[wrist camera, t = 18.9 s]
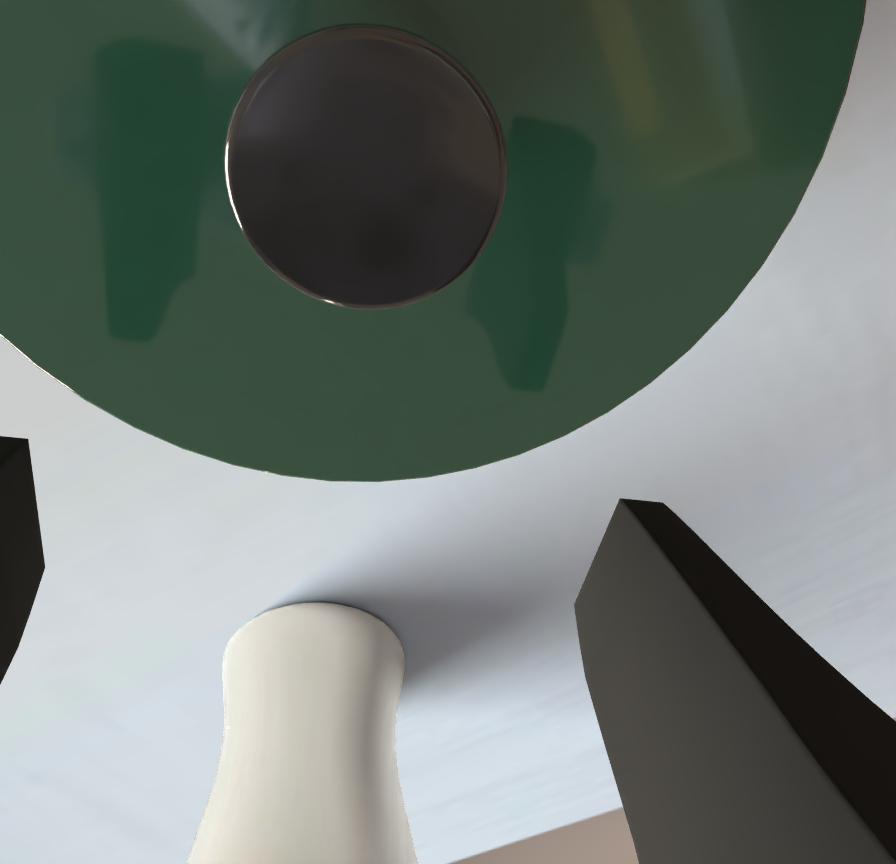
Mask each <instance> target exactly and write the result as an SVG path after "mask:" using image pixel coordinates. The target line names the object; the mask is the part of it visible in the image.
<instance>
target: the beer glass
mask: <svg viewBox="0 0 896 864" xmlns="http://www.w3.org/2000/svg"><path fill="white" fill-rule="evenodd" d="M403 674H404V652H403V649H402V646H401V643H400V641H399V639H398V638H397V636H396V635H395V633H394V632H393V631H392V630H391V629H390V628H389V627H388V626H387V625H386V624H385V623H383V622H382V621H381V620H379V619H377V618H376V617H374V616H372V615H370V614H368V613H366V612H364V611H361V610H359V609H356V608H353V607H349V606H345V605H340V604H334V603H324V602H307V603H297V604H291V605H286V606H282V607H278V608H275V609H272V610H269V611H267V612H264V613H262V614H260V615H258V616H256V617H254V618H253V619H251V620H249V621H248V622H247V623H245V624H244V625H243V626H242V627H240V628H239V629H238V630H237V631H236V632H235V634H234V635H233V636H232V638H231V639H230V641H229V643H228V644H227V647H226V649H225V652H224V655H223V663H222V680H223V697H224V733H223V741H222V749H221V754H220V759H219V763H218V767H217V772H216V776H215V780H214V783H213V786H212V789H211V792H210V795H209V798H208V801H207V805H206V808H205V811H204V814H203V817H202V819H201V822H200V825H199V828H198V831H197V833H196V836H195V839H194V842H193V845H192V847H191V850H190V853H189V856H188V858H187V861H186V864H418V861H417V856H416V852H415V848H414V844H413V839H412V835H411V831H410V827H409V822H408V818H407V814H406V809H405V804H404V799H403V795H402V790H401V785H400V780H399V774H398V765H397V756H396V718H397V710H398V703H399V697H400V692H401V686H402V680H403Z"/></svg>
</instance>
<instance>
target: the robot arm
mask: <svg viewBox="0 0 896 864" xmlns="http://www.w3.org/2000/svg"><path fill="white" fill-rule="evenodd" d="M44 569H45V563H44V555H43V548H42V540H41V533H40V525H39V518H38V510H37V503H36V495H35V487H34V480H33V472H32V465H31V457H30V450H29V442H28V439H23V438H13V437H4V436H0V684H1V682H2V680H3V678H4V676H5V674H6V672H7V669H8V667H9V665H10V663H11V661H12V659H13V657H14V655H15V653H16V650H17V648H18V646H19V643H20V641H21V638H22V635H23V632H24V629H25V626H26V623H27V621H28V618H29V615H30V612H31V609H32V606H33V603H34V600H35V597H36V594H37V591H38V588H39V584H40V581H41V578H42V575H43V572H44ZM574 607H575V614H576V621H577V628H578V636H579V643H580V649H581V654H582V660H583V666H584V672H585V677H586V681H587V684H588V688H589V692H590V695H591V699H592V702H593V706H594V709H595V713H596V716H597V720H598V723H599V726H600V730H601V733H602V737H603V740H604V744H605V747H606V750H607V754H608V757H609V760H610V764H611V767H612V770H613V774H614V777H615V781H616V784H617V787H618V791H619V794H620V797H621V801H622V804H623V807H624V811H625V814H626V818H627V821H628V824H629V827H630V831H631V834H632V838H633V841H634V844H635V849H636V853H637V857H638V861H639V864H896V721H895V720H893V719H892V718H891V717H890V716H889V715H887V714H886V713H885V712H884V711H883V710H882V709H880V708H879V707H878V706H877V705H876V704H874V703H873V702H872V701H871V700H870V699H869V698H867V697H866V696H865V695H864V694H863V693H862V692H861V691H860V690H858V689H857V688H856V687H855V686H854V685H853V684H852V683H851V682H849V681H848V680H847V679H846V678H845V677H844V676H843V675H842V674H840V673H839V672H838V671H837V670H836V669H835V668H834V667H833V666H832V665H830V664H829V663H828V662H827V661H826V660H825V659H824V658H823V657H821V656H820V655H819V654H818V653H817V652H816V651H815V650H814V649H813V648H812V647H811V646H810V645H809V644H808V643H806V642H805V641H804V640H803V639H802V638H801V637H800V636H799V635H798V634H797V633H796V632H795V631H794V630H793V629H792V628H791V627H790V626H789V625H787V624H786V623H785V622H784V621H783V620H782V619H781V618H780V617H779V616H778V615H777V614H776V613H775V612H774V611H773V610H772V609H771V608H770V607H769V606H768V605H767V604H766V603H765V602H764V601H763V600H762V599H761V598H760V597H759V596H758V595H757V594H756V593H755V592H754V591H753V590H752V589H751V588H750V587H749V586H748V585H747V584H746V583H745V582H744V581H743V580H742V579H741V578H740V577H739V576H738V575H737V574H736V573H735V572H734V571H733V570H732V569H731V568H730V567H729V566H728V565H727V564H726V563H725V562H724V561H723V560H722V559H721V558H720V557H719V556H718V555H717V554H716V553H715V552H714V551H713V550H712V549H711V548H710V547H709V546H708V545H707V544H706V543H705V542H704V541H703V540H702V539H701V538H700V537H699V536H698V535H697V534H696V533H695V532H694V531H693V530H692V529H691V528H690V527H689V526H688V525H687V524H686V523H685V522H683V521H682V520H681V519H680V518H679V517H678V516H677V515H676V514H675V513H674V512H673V511H672V510H671V509H669V508H668V507H667V506H666V505H665V504H664V503H661V502H651V501H641V500H631V499H621V498H620V499H619V502H618V504H617V506H616V509H615V511H614V513H613V516H612V518H611V520H610V523H609V525H608V527H607V530H606V532H605V534H604V537H603V539H602V541H601V544H600V546H599V548H598V551H597V553H596V555H595V558H594V560H593V562H592V565H591V567H590V569H589V572H588V574H587V576H586V579H585V581H584V583H583V585H582V588H581V590H580V592H579V595H578V597H577V599H576V602H575V604H574Z"/></svg>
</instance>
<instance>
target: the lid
mask: <svg viewBox="0 0 896 864" xmlns="http://www.w3.org/2000/svg"><path fill="white" fill-rule="evenodd" d="M865 6H866V0H0V336H2V337H3V338H4V339H5V340H6V341H7V342H9V343H10V344H11V345H12V346H13V347H14V348H16V349H17V350H18V351H19V352H20V353H21V354H23V355H24V356H25V357H26V358H27V359H28V360H30V361H31V362H32V363H33V364H34V365H35V366H37V367H38V368H40V369H41V370H42V371H44V372H45V373H47V374H48V375H50V376H51V377H53V378H54V379H55V380H57V381H58V382H60V383H61V384H63V385H64V386H65V387H67V388H68V389H70V390H71V391H73V392H74V393H75V394H77V395H78V396H80V397H81V398H83V399H84V400H86V401H87V402H89V403H91V404H93V405H95V406H96V407H98V408H100V409H102V410H104V411H105V412H107V413H109V414H111V415H112V416H114V417H116V418H118V419H120V420H121V421H123V422H125V423H127V424H129V425H130V426H132V427H134V428H136V429H139V430H141V431H143V432H145V433H148V434H150V435H152V436H155V437H157V438H159V439H161V440H164V441H166V442H168V443H171V444H173V445H175V446H178V447H180V448H182V449H185V450H188V451H191V452H194V453H197V454H200V455H203V456H206V457H210V458H213V459H216V460H219V461H222V462H225V463H228V464H231V465H235V466H240V467H244V468H249V469H254V470H258V471H263V472H268V473H272V474H277V475H281V476H289V477H298V478H307V479H316V480H325V481H357V482H382V481H393V480H405V479H416V478H427V477H432V476H437V475H443V474H448V473H453V472H458V471H463V470H468V469H474V468H477V467H480V466H484V465H487V464H490V463H494V462H497V461H500V460H503V459H507V458H510V457H513V456H517V455H520V454H522V453H525V452H527V451H530V450H532V449H534V448H537V447H539V446H542V445H544V444H546V443H549V442H551V441H553V440H556V439H558V438H561V437H563V436H565V435H567V434H569V433H571V432H573V431H574V430H576V429H578V428H580V427H582V426H584V425H585V424H587V423H589V422H591V421H593V420H595V419H596V418H598V417H600V416H602V415H604V414H606V413H608V412H609V411H611V410H612V409H613V408H615V407H616V406H618V405H619V404H621V403H622V402H624V401H625V400H627V399H628V398H629V397H631V396H632V395H634V394H635V393H637V392H638V391H640V390H641V389H643V388H644V387H646V386H647V385H648V384H650V383H651V382H652V381H653V380H655V379H656V378H657V377H658V376H659V375H660V374H662V373H663V372H664V371H665V370H666V369H668V368H669V367H670V366H671V365H672V364H673V363H675V362H676V361H677V360H678V359H679V358H681V357H682V356H683V355H684V354H685V353H686V352H688V351H689V350H690V349H691V348H692V347H693V346H694V345H695V344H696V343H697V342H698V341H699V340H700V338H701V337H702V336H703V335H704V334H705V333H706V332H707V331H708V330H709V329H710V328H711V327H712V326H713V325H714V324H715V323H716V322H717V321H718V320H719V319H720V318H721V317H722V316H723V315H724V313H725V312H726V311H727V310H728V309H729V308H730V306H731V305H732V304H733V303H734V301H735V300H736V299H737V298H738V296H739V295H740V294H741V292H742V291H743V290H744V289H745V287H746V286H747V285H748V283H749V282H750V281H751V280H752V278H753V277H754V276H755V274H756V273H757V272H758V271H759V269H760V268H761V267H762V265H763V264H764V262H765V261H766V259H767V257H768V256H769V254H770V253H771V251H772V249H773V248H774V246H775V245H776V243H777V241H778V240H779V238H780V237H781V235H782V233H783V232H784V230H785V229H786V227H787V225H788V224H789V222H790V221H791V219H792V217H793V216H794V214H795V212H796V210H797V208H798V206H799V204H800V202H801V200H802V198H803V196H804V194H805V192H806V190H807V188H808V186H809V184H810V182H811V180H812V177H813V175H814V173H815V171H816V169H817V167H818V165H819V163H820V161H821V159H822V157H823V154H824V152H825V149H826V146H827V143H828V141H829V138H830V135H831V132H832V130H833V127H834V124H835V121H836V119H837V116H838V113H839V110H840V108H841V105H842V102H843V100H844V97H845V94H846V90H847V86H848V82H849V78H850V74H851V70H852V66H853V62H854V58H855V54H856V50H857V46H858V42H859V38H860V34H861V30H862V26H863V21H864V14H865Z"/></svg>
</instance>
